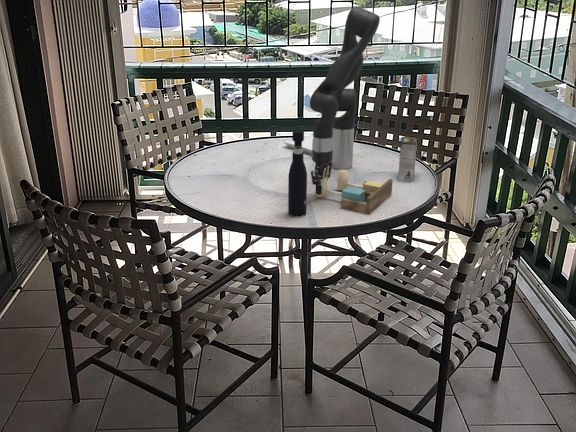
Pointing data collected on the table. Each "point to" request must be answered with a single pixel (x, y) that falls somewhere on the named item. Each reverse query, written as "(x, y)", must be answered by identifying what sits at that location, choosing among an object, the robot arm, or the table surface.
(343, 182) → the yellow peg toy
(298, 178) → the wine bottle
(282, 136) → the table surface
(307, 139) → the salad plate
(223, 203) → the table surface
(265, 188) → the table surface
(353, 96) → the robot arm
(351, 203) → the lane rack
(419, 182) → the table surface
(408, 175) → the coffee box
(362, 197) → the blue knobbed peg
